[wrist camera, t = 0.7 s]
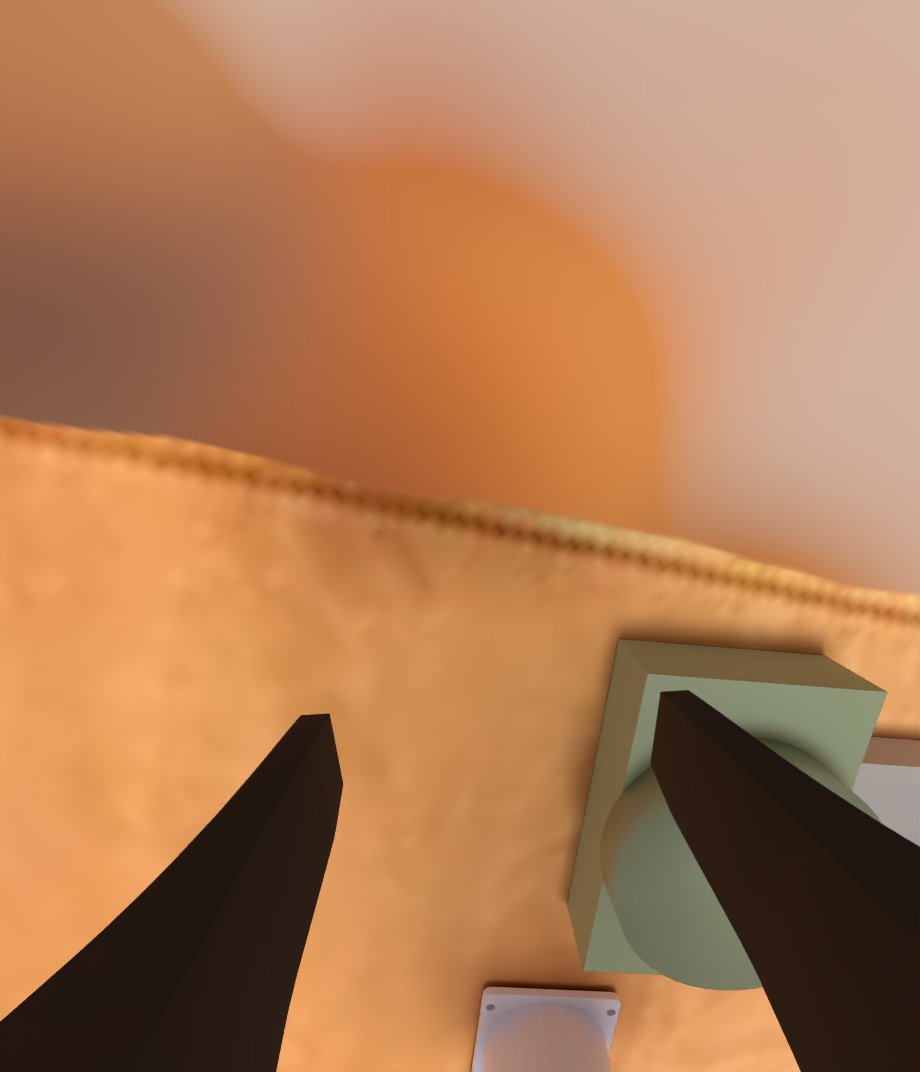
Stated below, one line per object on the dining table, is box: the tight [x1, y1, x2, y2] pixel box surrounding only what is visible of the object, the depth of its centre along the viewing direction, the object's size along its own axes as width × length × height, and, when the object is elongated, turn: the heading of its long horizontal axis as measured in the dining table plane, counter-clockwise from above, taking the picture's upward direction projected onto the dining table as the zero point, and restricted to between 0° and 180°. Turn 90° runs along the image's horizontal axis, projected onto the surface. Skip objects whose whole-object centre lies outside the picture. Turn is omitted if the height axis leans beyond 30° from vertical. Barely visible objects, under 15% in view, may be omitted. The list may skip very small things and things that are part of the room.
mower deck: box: [567, 639, 920, 990], centre depth 20 cm, size 16×21×5 cm
